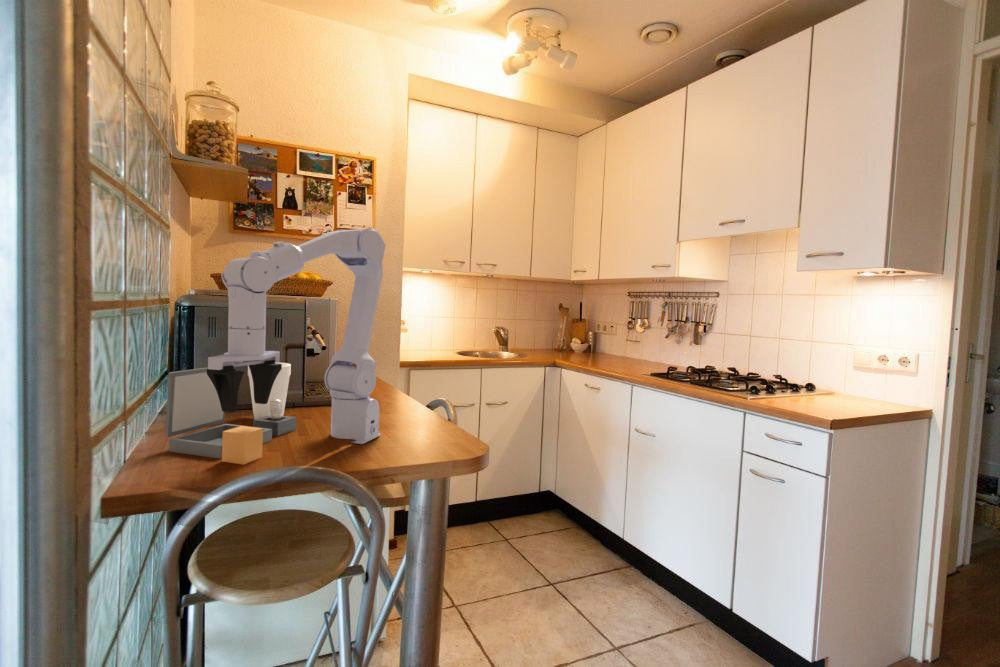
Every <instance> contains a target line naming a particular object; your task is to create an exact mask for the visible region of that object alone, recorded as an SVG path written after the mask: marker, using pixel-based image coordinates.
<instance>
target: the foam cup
mask: <svg viewBox="0 0 1000 667" xmlns="http://www.w3.org/2000/svg"><path fill="white" fill-rule="evenodd" d="M278 363H279V364H282V369H281V370H280V372H279V373H278V375H277V377H276V379H275V381H274V383H273V386H272V389H271V392H270V396H269V399H268V402H267V404H258V403H255V400H254V386H253V379H252V374H251V371H250V368H249V365H247V376H248V382H249V389H250V397H251V404H252V413H253V420H255V419H259V418H262V417H266V416H269V412H270V400H271V399H282V416H285V415H284V414H285V408H286V402H287V395H288V389H289V383H290V378H291V375H292V374H291V373H292V369H291V368H292V364H291V363H287V362H278Z"/></svg>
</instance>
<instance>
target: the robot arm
mask: <svg viewBox="0 0 1000 667" xmlns="http://www.w3.org/2000/svg"><path fill="white" fill-rule="evenodd" d="M272 246H273V247H270V248H268V249H265V250H262V251H260V250H254V251H251V252H250V256H249V257H245V258H244V257H243V258H242V257H239V258H234V259H232V260H230V261H229V262H228V264H226V265H225V267H224V271H223V272H221V273H220V276H221V280H222V283H223V284H224V286H225V287H226V289H227V298H228V316H227V317H228V318H227V319H228V322H227V325H228V326H227V327H228V329H227V330H228V331H227V332H228V333H227V352H224V353H223V354H219V355H214V356H208V357H207V367H206V368H207V375H208V377H209V378H210V380H211V381H212V383H213V385H214V387H215V389H216V391H217V394H218V397H219V401H220V404H221V408H222V411H224V412H225V413H234V412H236V410H237V406H238V397H239V395H238V394H239V388H240V385H241V381H242V379H243V376H244V374H245V372H244V371H243V370H242V371H241V370H236V368H237V367H244V366H245V367H246V366H248V365H249V368H250V371H251V374H252V379H253V386H254V400H255V403H258V404H267V402H268V399H269V396H270V392H271V389H272V386H273V383H274V381H275V379H276V377H277V375H278V373H279V372H280V370H281V369H282V364H279V363H280V357H281V355H280V354H281V352H280V351H278V350H266V333H267V332H266V330H267V325H266V324H267V319H266V318H267V292H268V291H269V290H270V289H271V288H272V287H273V285H274V284H275V283H277V282H279V281H282V280H285V279H287V278H289V277H291V276H294V275H296V274H298V273H300V272H302V270H303V269H304V267H305V264H306V263H307V262H310V261H312V260H316V259H318V258H321V257H325V256H328V255H334V256H335V257H336V258H337V259H338V260H339V261H340V262H341V263H342V264H343V265H344V266H345V267H347V269H348V270H350V271H351V273H352V274H353V275H354V276H355V277H354V278H355V280H354V283H353V284H354V285H353V289H352V295H351V299H350V303H349V304H350V305H349V308H348V309H349V310H348V315H347V320H346V325H345V329H344V330H345V331H344V335H343V340H342V344H341V348H340V349H339V350H337V352H335V354H333V355H332V357H331V359H330V363H329V366H328V367H327V369H326V370H325V373H324V379H323V380H324V384H325V387H326V389H328V390H329V396H331V413H330V415H331V416H330V420H331V421H330V436H331V437H332V438H335V439H340V440H341V439H343V440H344V439H345V440H352V441H350V442H349V444H355V445H357V444H358V445H364V444H366V443H368V442H370V441H372V440H374V439H377V438H378V437H380V436H381V433H380V430H379V429H380V404H379V401H378V400H377V399H376V398H371V397H370V396H371V394H372V392H373V391H374V389H375V387H376V384H377V376H376V365H377V363H376V361H375V359H373V358H372V356H371V355H370V354H369V349H370V345H371V339H372V333H373V329H374V323H375V317H376V313H377V307H378V302H379V297H380V291H381V286H382V282H383V276H384V268H383V261H384V260H383V259H384V255H385V250H386V243H385V241H384V240H383V237H382V235H381V234H380V232H379V231H378V230H377V229H375V228H374V227H366V228H357V229H337V230H333V231H329V232H326V233H324V234H321V235H319V236H317V237H314V238H311V239H310V240H308V241H305V242H303V243H301V244H298V245H294V244H293V243H290V242H284V241H276V242H273V244H272ZM352 364H355V365H352Z"/></svg>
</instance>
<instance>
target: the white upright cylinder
mask: <svg viewBox="0 0 1000 667" xmlns="http://www.w3.org/2000/svg"><path fill="white" fill-rule="evenodd" d="M269 420H272V421H278V420H282V399H271V400H270V412H269Z"/></svg>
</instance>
